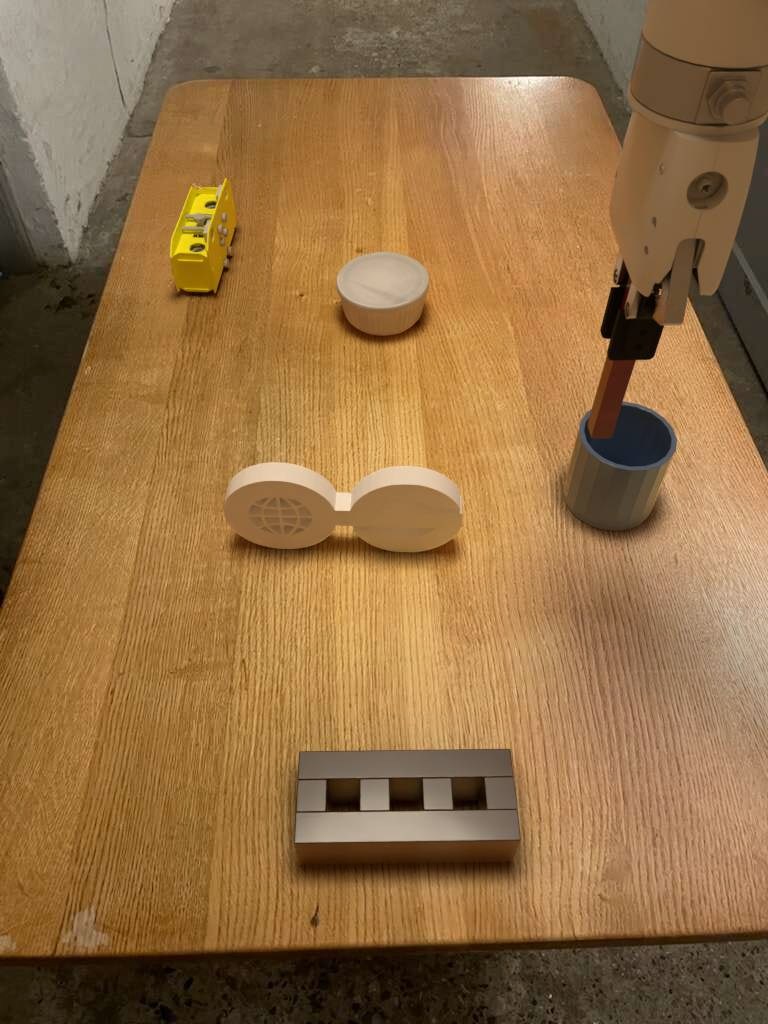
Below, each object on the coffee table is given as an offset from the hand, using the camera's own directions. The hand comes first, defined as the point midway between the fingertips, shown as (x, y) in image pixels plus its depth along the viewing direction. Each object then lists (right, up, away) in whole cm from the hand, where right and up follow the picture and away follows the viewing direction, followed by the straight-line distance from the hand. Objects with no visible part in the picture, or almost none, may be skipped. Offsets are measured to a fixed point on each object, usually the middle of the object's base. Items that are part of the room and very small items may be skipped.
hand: (626, 345), depth 59 cm
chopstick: (0, -5, +7) cm, 9 cm away
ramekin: (-17, +13, +46) cm, 51 cm away
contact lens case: (-21, -15, +23) cm, 35 cm away
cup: (+6, -10, +27) cm, 29 cm away
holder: (-15, -35, +6) cm, 39 cm away
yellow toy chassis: (-40, +22, +53) cm, 70 cm away
